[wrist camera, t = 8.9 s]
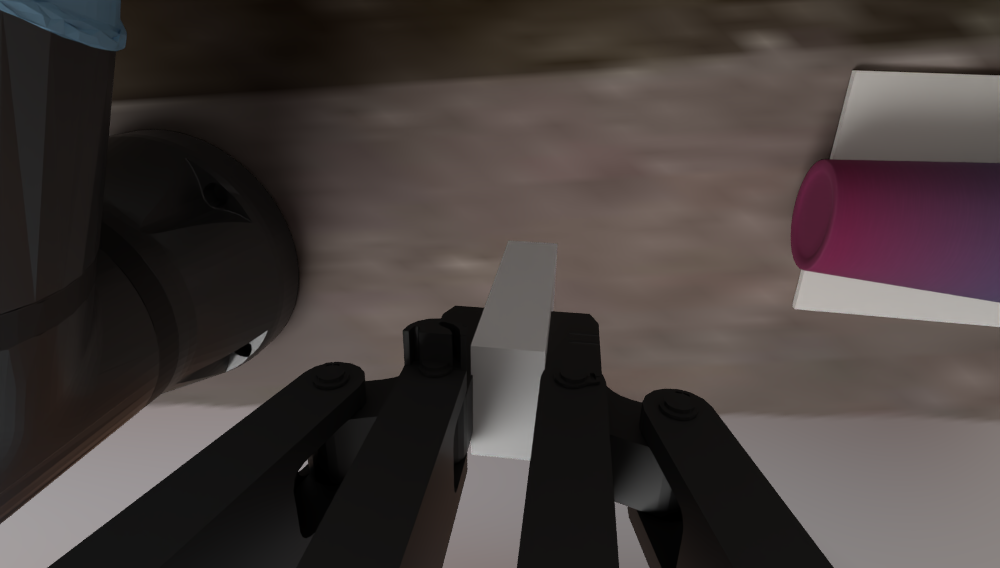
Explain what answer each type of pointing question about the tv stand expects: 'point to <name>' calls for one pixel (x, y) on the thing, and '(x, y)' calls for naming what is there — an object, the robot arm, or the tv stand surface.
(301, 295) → the tv stand surface
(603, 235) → the tv stand surface
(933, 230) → the cup
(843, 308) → the mat
